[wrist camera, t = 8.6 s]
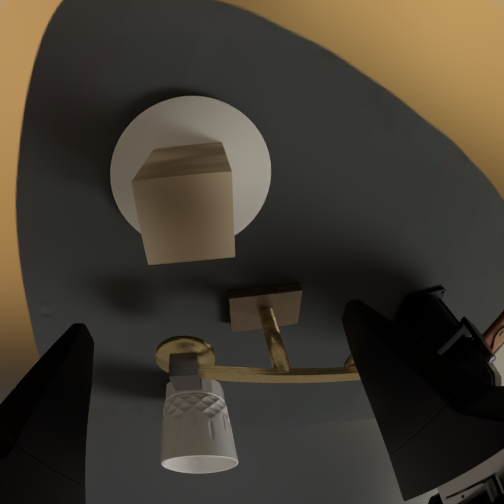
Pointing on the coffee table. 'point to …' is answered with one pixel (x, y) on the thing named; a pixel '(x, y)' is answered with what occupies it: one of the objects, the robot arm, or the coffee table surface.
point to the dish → (188, 133)
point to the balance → (242, 319)
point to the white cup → (197, 430)
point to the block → (185, 204)
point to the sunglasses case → (495, 333)
